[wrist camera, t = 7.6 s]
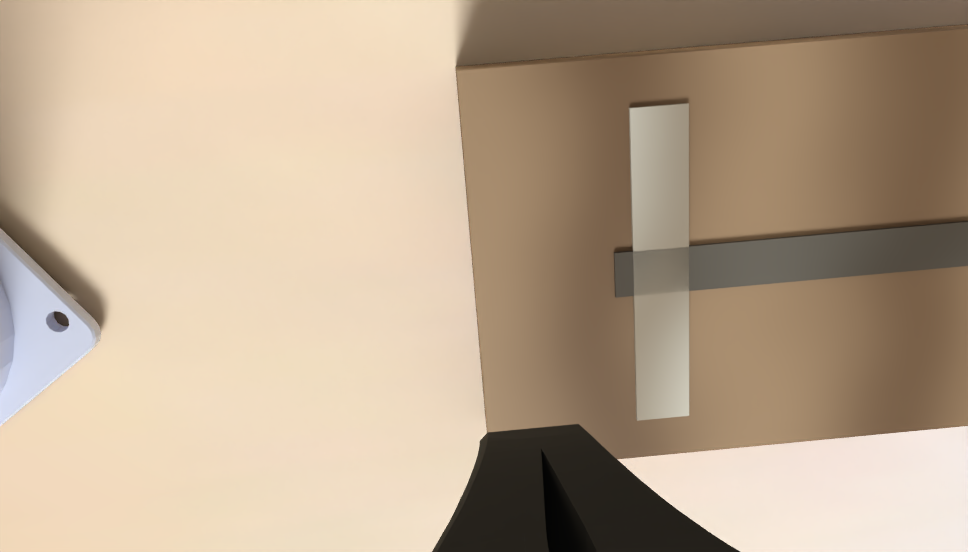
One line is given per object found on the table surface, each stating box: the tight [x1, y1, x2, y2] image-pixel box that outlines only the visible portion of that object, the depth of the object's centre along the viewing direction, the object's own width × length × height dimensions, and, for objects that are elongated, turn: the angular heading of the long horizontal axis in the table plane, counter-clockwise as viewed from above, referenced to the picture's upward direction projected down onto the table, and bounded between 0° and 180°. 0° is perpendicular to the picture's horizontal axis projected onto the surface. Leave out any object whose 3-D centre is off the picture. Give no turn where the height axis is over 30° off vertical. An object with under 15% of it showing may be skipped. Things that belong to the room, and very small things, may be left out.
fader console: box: [456, 24, 968, 459], centre depth 18 cm, size 18×9×3 cm, turn 94°
